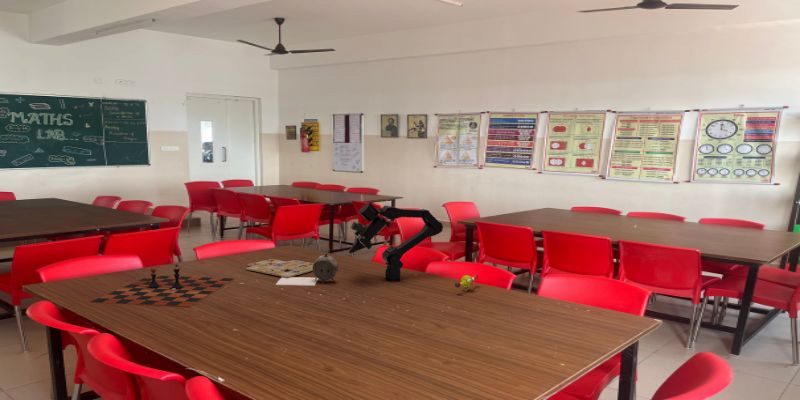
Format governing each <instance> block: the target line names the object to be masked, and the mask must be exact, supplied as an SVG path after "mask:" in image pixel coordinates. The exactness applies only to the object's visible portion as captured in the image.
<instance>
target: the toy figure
mask: <svg viewBox="0 0 800 400" xmlns="http://www.w3.org/2000/svg"><path fill="white" fill-rule="evenodd" d="M477 280H479V275H477V274H474V275H472V276H471V275H469V274H466V275H463V276H462V277H461V280H460V282H459V281H456V282H454V287H455V288H457V289H459V288H460V287H461V286H463V287H464V292H469V291H470V289H469V288H470V287H472V286H473V285H474V281H477Z"/></svg>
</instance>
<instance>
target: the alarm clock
mask: <svg viewBox="0 0 800 400" xmlns="http://www.w3.org/2000/svg"><path fill="white" fill-rule="evenodd" d="M324 249H328V252H324ZM321 252H322V255H320V256H318V257H317V258H316V259H315V261H314V262H313V263H314V264H313V271H312V273H313V275H314V276H315V277H314V278H315V280H316V279H317V278H318V280H321V282H322V284H324V283H325V281H330V280H332V282H334V283H335V279H334V278H335V276H336V274H337V273H338V272H339V271H338V270H339V263H338V262H337V260H336V259H335V258H334V257H333V256H331V255H329V253H331V249H330V248H329V247H327V246H325V247H323V248H322V250H321Z"/></svg>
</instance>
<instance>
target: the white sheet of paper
mask: <svg viewBox="0 0 800 400" xmlns="http://www.w3.org/2000/svg"><path fill="white" fill-rule="evenodd" d="M315 278H316V277H308V276H307V277H306V276H304V277H299V276H298V277H297V276H292V277H288V278H286V277H281V276H280V278H279V280H278V281H277V282H276V284H275V286H301V287H302V286H306V287H308V286H309V287H310V286H311V287H315V286H316V285H317V283H318V280H319V279H318V278H317V279H316V280H315Z"/></svg>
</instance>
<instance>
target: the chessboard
mask: <svg viewBox="0 0 800 400" xmlns="http://www.w3.org/2000/svg"><path fill="white" fill-rule="evenodd" d="M174 266H175V267H174V268H173V272H174V274H173V276H172V275H157V273H156V272H157V267H150V268H149V271H150V272H151V273H150V275H148V276H146V277H144V278H143V277H142V279H139V280H137V281H135V282H134V281H133V282H132V283H130V284H128V285H127V284H126V285H125V286H122V287H121V288H119V289H116V290H114V291H112V292H110V293H107V294H105V295H103V296H99V297H98V298H96V299H93V300H91V301H90V303H98V304H100V303H101V304H112V305H113V304H114V305H115V304H116V305H118V304H119V305H120V304H121V305H132V306H133V305H134V306H135V305H136V306H150V307H151V306H155V307H156V306H157V307H169V308H170V307H171V308H191V307H193V306H194V305H196V304H198V303H199V302H201V301H203V300H204V299H205V298H208V297H209V296H211V295H212V294H214V293H215V292H217V291H218V290H220V289H221V288H223V287H225V286H226V285H228V284H229V283H231V282H233V281H234V280H235V278H234V277H233V278H232V277H231V278H230V277H207V276H206V277H205V276H203V277H201V276H182V275H181V274H180V273H179V272H180V270H181V269H180V268H179V265H178V264H175V265H174ZM180 275H181V276H180Z"/></svg>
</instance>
